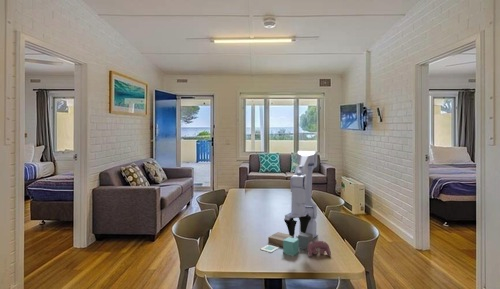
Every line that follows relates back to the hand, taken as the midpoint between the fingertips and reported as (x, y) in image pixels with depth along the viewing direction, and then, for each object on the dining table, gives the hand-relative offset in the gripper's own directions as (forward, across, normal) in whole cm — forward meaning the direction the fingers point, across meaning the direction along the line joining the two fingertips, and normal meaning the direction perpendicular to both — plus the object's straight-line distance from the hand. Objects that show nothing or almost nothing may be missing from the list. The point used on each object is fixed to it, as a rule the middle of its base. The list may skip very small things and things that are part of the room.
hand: (297, 234), depth 134 cm
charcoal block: (+9, +11, +5) cm, 15 cm away
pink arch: (+10, +8, -5) cm, 14 cm away
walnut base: (+9, +6, +16) cm, 19 cm away
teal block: (+10, +1, +4) cm, 11 cm away
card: (+10, -3, +14) cm, 17 cm away
